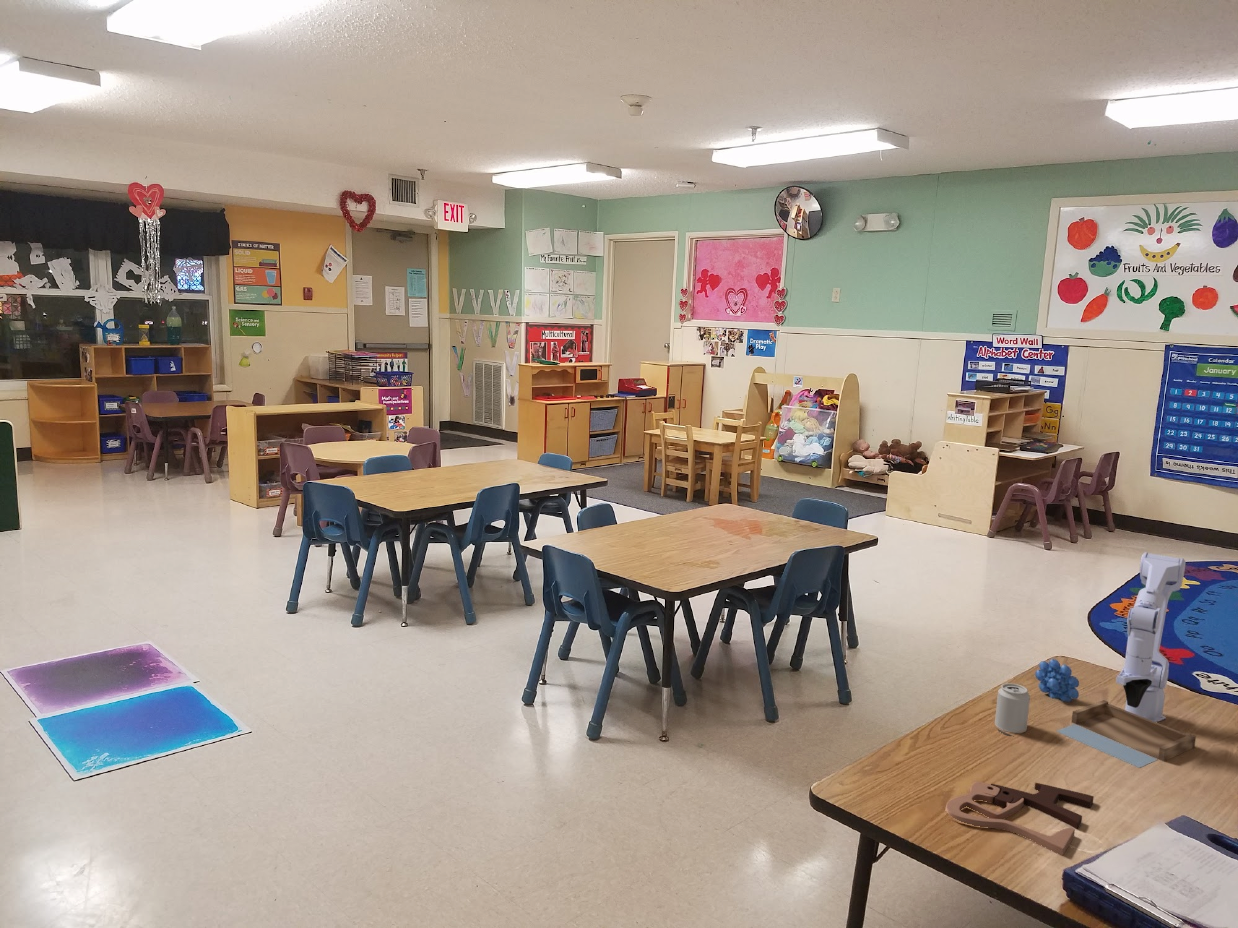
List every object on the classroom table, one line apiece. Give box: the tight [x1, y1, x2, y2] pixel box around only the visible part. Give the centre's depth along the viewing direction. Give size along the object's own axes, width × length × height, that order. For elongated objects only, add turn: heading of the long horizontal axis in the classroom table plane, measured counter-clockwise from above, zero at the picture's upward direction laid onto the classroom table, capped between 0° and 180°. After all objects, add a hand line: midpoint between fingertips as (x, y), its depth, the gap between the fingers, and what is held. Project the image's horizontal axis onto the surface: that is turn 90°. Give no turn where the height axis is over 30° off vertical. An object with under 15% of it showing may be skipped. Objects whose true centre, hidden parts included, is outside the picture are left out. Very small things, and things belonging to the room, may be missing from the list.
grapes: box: [1034, 658, 1080, 703], centre depth 247 cm, size 12×7×12 cm, turn 47°
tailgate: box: [1055, 723, 1159, 769], centre depth 221 cm, size 1×21×8 cm
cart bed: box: [1071, 700, 1197, 762], centre depth 227 cm, size 14×23×4 cm, turn 31°
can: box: [994, 682, 1031, 738], centre depth 230 cm, size 8×8×12 cm
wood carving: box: [945, 781, 1094, 857], centre depth 194 cm, size 28×2×24 cm
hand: (1132, 705), depth 225 cm, fingers closed
